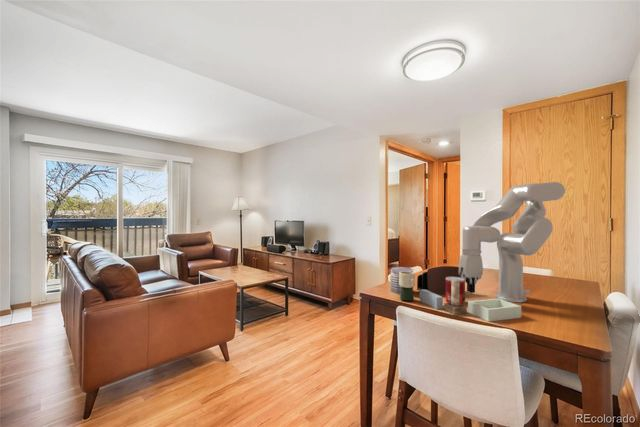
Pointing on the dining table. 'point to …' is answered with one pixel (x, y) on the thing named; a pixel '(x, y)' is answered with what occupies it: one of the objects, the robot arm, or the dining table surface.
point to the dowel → (455, 293)
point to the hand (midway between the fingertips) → (470, 291)
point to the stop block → (431, 299)
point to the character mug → (406, 285)
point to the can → (397, 279)
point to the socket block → (455, 309)
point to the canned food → (461, 289)
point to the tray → (494, 309)
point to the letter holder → (436, 279)
